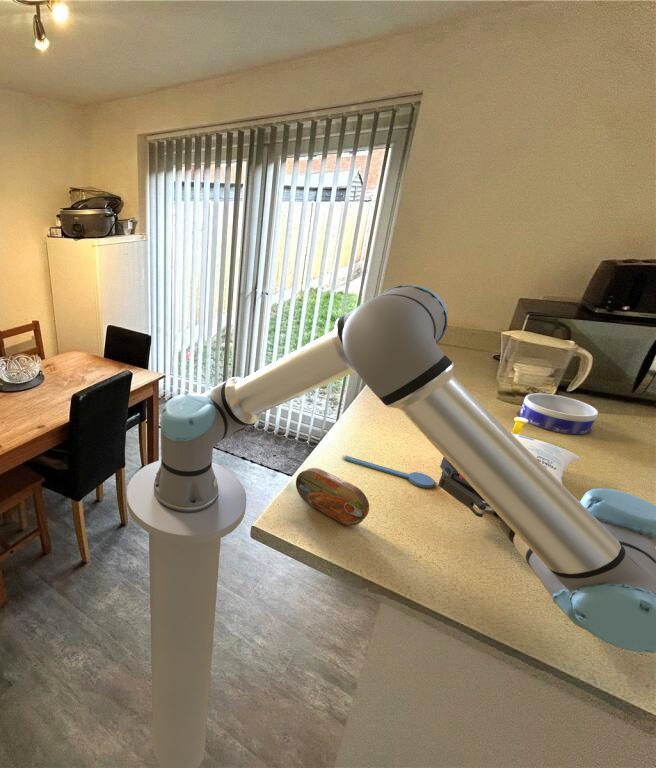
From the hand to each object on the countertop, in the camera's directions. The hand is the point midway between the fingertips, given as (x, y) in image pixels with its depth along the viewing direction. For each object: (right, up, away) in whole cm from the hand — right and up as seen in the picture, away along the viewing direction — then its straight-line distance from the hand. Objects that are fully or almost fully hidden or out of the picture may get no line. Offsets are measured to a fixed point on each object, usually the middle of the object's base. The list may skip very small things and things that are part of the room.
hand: (479, 466), depth 85 cm
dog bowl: (+50, +6, +32) cm, 59 cm away
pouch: (+17, -3, +11) cm, 21 cm away
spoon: (-13, -4, +11) cm, 17 cm away
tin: (-34, -10, -1) cm, 35 cm away
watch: (+31, +3, +25) cm, 40 cm away
